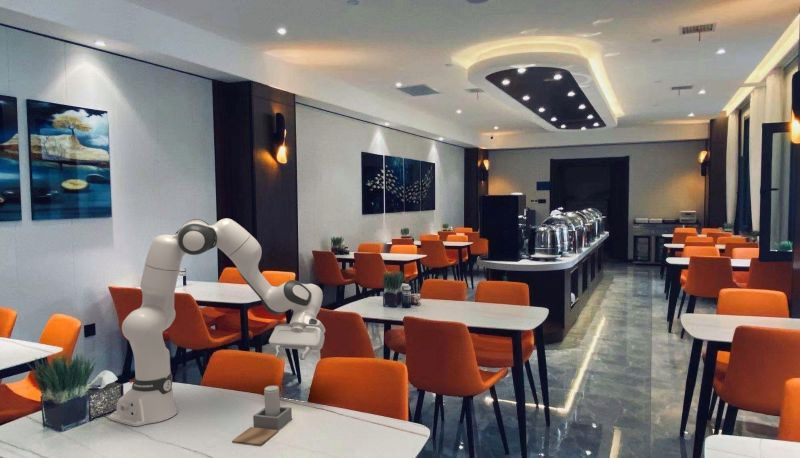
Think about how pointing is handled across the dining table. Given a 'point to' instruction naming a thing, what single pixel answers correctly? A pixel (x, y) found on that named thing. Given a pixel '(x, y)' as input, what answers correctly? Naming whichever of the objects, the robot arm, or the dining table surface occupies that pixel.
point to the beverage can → (272, 401)
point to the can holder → (272, 419)
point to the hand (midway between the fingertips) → (290, 358)
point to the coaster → (255, 436)
